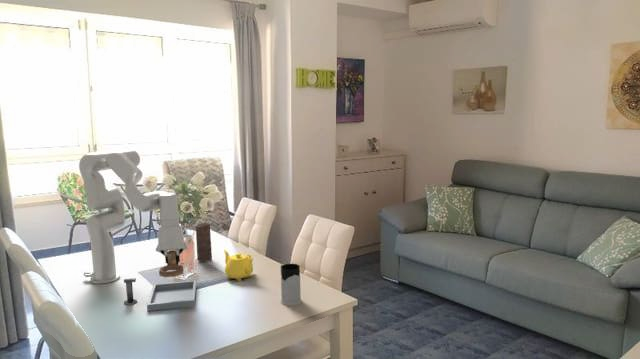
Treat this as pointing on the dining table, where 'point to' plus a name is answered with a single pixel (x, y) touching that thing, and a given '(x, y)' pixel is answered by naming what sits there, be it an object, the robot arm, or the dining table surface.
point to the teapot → (238, 266)
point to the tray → (172, 296)
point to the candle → (203, 242)
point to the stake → (129, 291)
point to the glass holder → (290, 285)
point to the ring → (171, 266)
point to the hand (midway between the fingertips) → (172, 263)
